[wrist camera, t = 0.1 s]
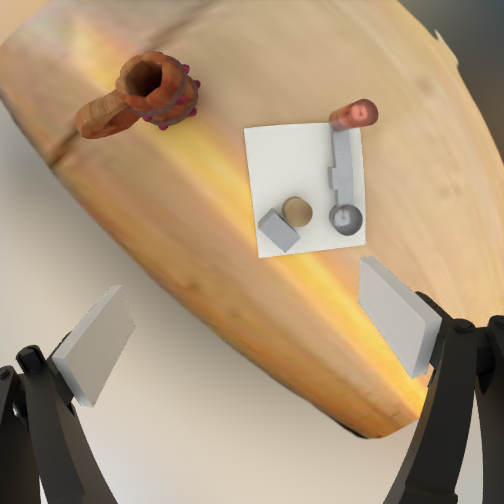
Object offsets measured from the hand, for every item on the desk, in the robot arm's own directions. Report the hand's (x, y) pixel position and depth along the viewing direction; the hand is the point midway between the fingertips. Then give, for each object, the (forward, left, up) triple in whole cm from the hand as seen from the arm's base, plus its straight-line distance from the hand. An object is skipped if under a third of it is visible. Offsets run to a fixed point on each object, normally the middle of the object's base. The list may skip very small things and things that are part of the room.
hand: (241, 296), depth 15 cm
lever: (-4, +15, -26) cm, 30 cm away
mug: (-16, -10, -28) cm, 34 cm away
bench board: (-2, +10, -28) cm, 30 cm away
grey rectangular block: (+4, +5, -27) cm, 27 cm away
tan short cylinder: (+1, +8, -27) cm, 28 cm away
